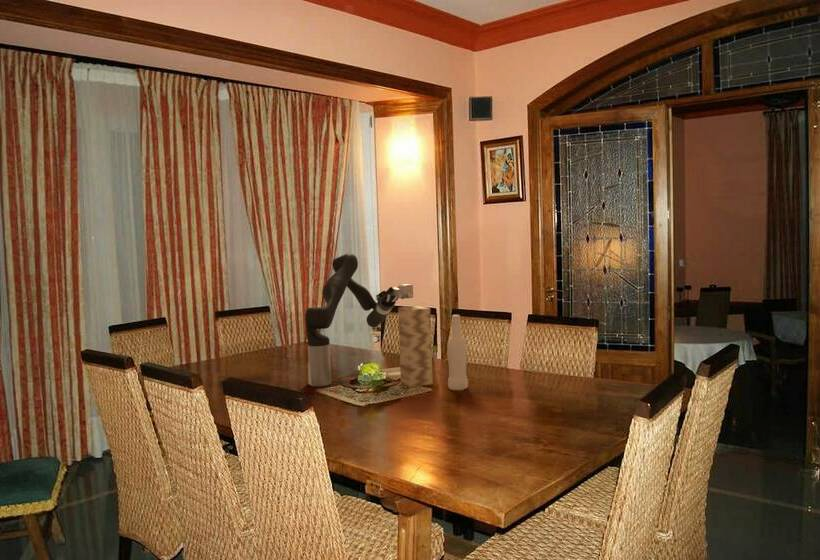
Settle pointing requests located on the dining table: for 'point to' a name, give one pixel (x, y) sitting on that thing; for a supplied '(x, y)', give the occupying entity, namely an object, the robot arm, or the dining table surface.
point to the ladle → (403, 291)
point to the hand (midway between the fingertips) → (395, 288)
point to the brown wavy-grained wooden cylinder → (415, 345)
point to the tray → (393, 372)
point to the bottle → (457, 357)
